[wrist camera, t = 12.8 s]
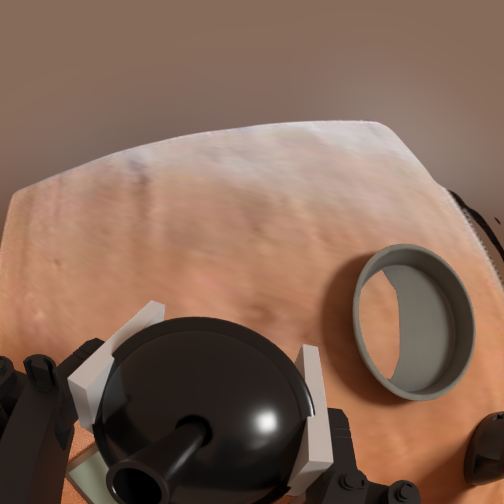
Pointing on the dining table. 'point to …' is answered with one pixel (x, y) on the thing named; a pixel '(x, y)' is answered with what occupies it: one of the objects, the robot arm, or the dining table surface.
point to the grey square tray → (299, 499)
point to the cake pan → (422, 322)
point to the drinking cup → (200, 415)
